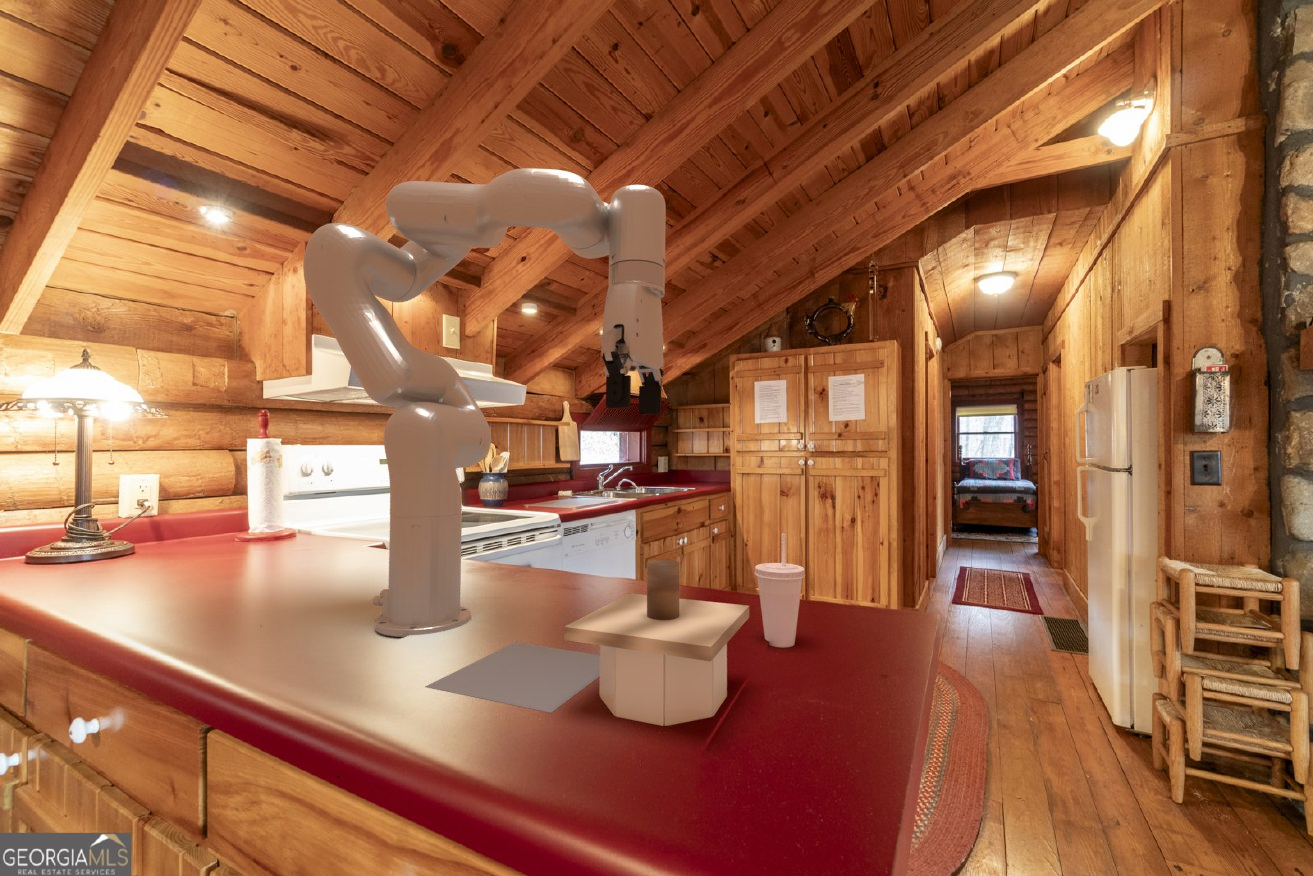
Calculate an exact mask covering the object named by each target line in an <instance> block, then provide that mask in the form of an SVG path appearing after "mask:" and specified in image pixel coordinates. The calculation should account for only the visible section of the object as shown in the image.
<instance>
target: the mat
mask: <svg viewBox="0 0 1313 876" xmlns="http://www.w3.org/2000/svg"><path fill="white" fill-rule="evenodd" d="M598 678H599V679H600V654H595V653H588V652H583V651H575V650H571V649H569V650H568V649H563V648H558V647H557V648H556V647H550V646H543V645H537V644H530V643H525V642H524V643H523V642H519V641H518V642H517V641H515V642H512V643H511V644H509V645H507V646H504V647H503V648H500V649H499V650H497V651H495V652H492V653H491V654H489V655H487V656H485V657H482V658H480V659H479V660H476V661H474V662H472V663H470V664H468V665H466V666H464V667H462V668H460V669H458V670H456V671H453V672H451V673H449V674H447V675H446V676H444V677H442V678H440V679H437V680H435V681H434V682H431V683H429V684H427V685H425V686H424V687H425V688H428V689H433V690H438V691H442V692H446V693H448V692H449V693H452V694H456V695H463V696H466V697H471V698H475V699H481V700H486V701H490V702H496V703H500V704H505V705H511V706H514V707H519V708H524V709H530V710H534V711H539V712H544V713H549V714H553V712H555V711H556V710H558V709H559V708H560V707H561V706H563V705H564V704H566V702H568V701H570V700H571V699H572V698H573V697H575V696H576V695H578V693H580V692H581V691H582V690H584V689H585V688H587V687H588V686H589V685H590V684H592V683H594V681H595V680H596V681H597V679H598Z"/></svg>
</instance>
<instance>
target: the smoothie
mask: <svg viewBox="0 0 1313 876" xmlns="http://www.w3.org/2000/svg"><path fill="white" fill-rule="evenodd" d="M754 575H755V576H757V585H758V594H759V599H760V600H759V601H760V609H761V616H762V626H763V634H764V640H766V641H767V642H768V643H767V644H768V646H771V647H774V648H790V647H793V646H795V644H796V643H795V642H796V636H797V625H798V617H799V608H800V600H801V592H802V582H803V578H805V576H806V574H805V568H804V567H803V566H801V565H798V564H793V563H787V534H786V533H781V562H765V563H760V564H757V565H755V566H754Z"/></svg>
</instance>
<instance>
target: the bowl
mask: <svg viewBox="0 0 1313 876" xmlns="http://www.w3.org/2000/svg"><path fill="white" fill-rule="evenodd" d="M599 655H600V677H599V694H598V695H599V697H600V699H601V700H602V701H603V703H604V704H605V705H606V707H607V708H608V709H609V711H610V712H611V713H612V714H613V717H614V716H615V717H616V718H621V719H626V720H632V721H637V722H641V723H647V724H652V725H657V726H661V727H663V726H665V727H666V726H673V725H677V724H683V723H688V722H692V721H693V722H694V721H698V720H703V719H707V718H713V717H714V716H715V715H716V713H717V712H718V710H719V709H720V707H721V705H723V703H724V701H725V700H726V698H727V697H728V689H727V688H728V657H727V656H728V642H727V643H726V645H725V646H724V647H723V648H722V649H721V650H720V651H719V653H718V654H717V655H716V656H715V657H714V658H713V659H712V661H704V660H697V659H690V658H683V657H677V656H670V655H663V654H656V653H649V652H643V651H636V650H629V649H622V648H615V647H609V646H602V645H599Z"/></svg>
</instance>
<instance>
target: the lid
mask: <svg viewBox="0 0 1313 876" xmlns="http://www.w3.org/2000/svg"><path fill="white" fill-rule="evenodd" d="M749 618H750V605H746V604H745V605H744V604H737V603H736V604H735V603H726V602H718V601H717V602H714V601H705V600H696V599H686V598H680V562H679V561H677V560H674V559H673V560H672V559H653V560H648V561H647V562H646V594H638V593H627V594H625V595H622V596H621V597H619V598H617V599H615V600H614V601H611V602H609V603H607V604H605V605H603V606H602V607H600V608H598V609H596V610H593V611H592V612H590V613H588V614H586V615H584V616H583V617H580V618H579V619H577V620H574V621H573V622H571V623H569V624H567V625H565V626H563V628H564V629H563V631H564V632H563V641H570V642H575V643H583V644H589V645H590V644H591V645H595V646H597V645H598V646H600V645H602V646H609V647H615V648H622V649H629V650H636V651H643V652H649V653H656V654H663V655H670V656H677V657H683V658H690V659H697V660H704V661H712V659H713V658H714V657H715V656H716V655H717V654H718V653H719V651H720V650H721V649H722V648H723V647H724V646H725V645H726V643H727V644H728V643H729V641H730V640H731V639H732V638H733V637H734V635H735V634H736V633H737V632H738V631H739V630H740V629H741V627H742V626H744V624H745V623H746V621H748V619H749Z"/></svg>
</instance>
